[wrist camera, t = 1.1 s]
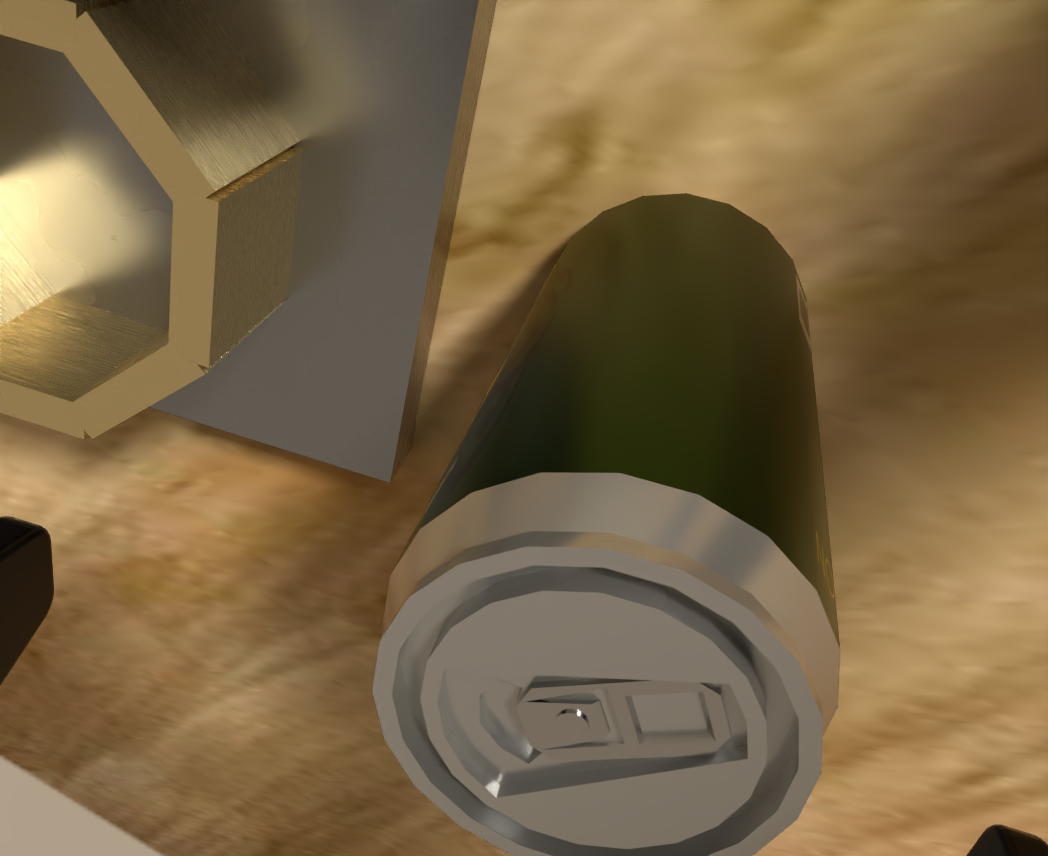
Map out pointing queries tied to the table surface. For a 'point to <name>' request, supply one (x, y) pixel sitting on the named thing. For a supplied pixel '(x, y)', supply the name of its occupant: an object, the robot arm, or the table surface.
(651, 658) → the green soda can
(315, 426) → the cup bracket
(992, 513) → the table surface
